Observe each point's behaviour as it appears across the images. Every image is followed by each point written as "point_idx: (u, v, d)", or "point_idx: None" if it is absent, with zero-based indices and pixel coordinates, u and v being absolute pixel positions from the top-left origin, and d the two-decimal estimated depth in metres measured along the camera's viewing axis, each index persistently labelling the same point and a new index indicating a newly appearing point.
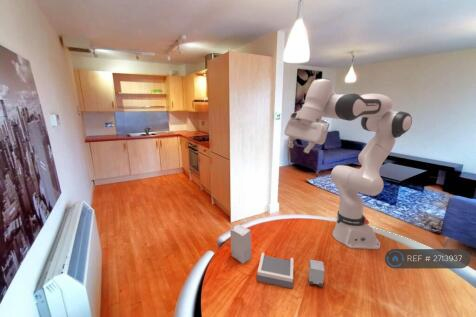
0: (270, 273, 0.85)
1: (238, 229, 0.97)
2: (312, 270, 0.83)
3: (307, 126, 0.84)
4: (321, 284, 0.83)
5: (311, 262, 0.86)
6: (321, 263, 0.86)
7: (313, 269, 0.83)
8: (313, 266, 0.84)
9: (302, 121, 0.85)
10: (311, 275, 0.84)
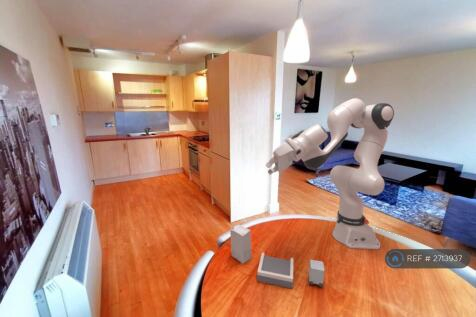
0: (270, 273, 0.85)
1: (238, 229, 0.97)
2: (312, 270, 0.83)
3: (288, 160, 0.92)
4: (321, 284, 0.83)
5: (311, 262, 0.86)
6: (321, 263, 0.86)
7: (313, 269, 0.83)
8: (313, 266, 0.84)
9: (293, 159, 0.90)
10: (311, 275, 0.84)
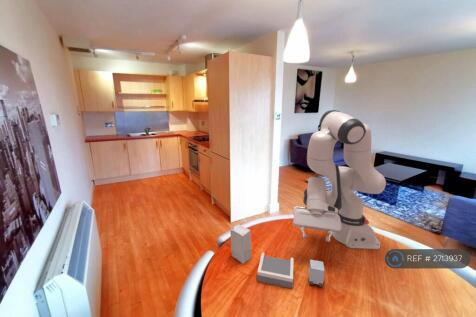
0: (270, 273, 0.85)
1: (238, 229, 0.97)
2: (312, 270, 0.83)
3: None
4: (321, 284, 0.83)
5: (311, 262, 0.86)
6: (321, 263, 0.86)
7: (313, 269, 0.83)
8: (313, 266, 0.84)
9: None
10: (311, 275, 0.84)
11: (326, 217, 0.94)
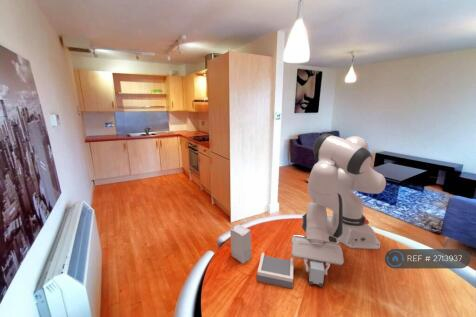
0: (270, 273, 0.85)
1: (238, 229, 0.97)
2: (312, 270, 0.83)
3: None
4: (321, 284, 0.83)
5: (311, 262, 0.86)
6: (321, 263, 0.86)
7: (313, 269, 0.83)
8: (313, 266, 0.84)
9: None
10: (311, 275, 0.84)
11: (327, 248, 0.88)
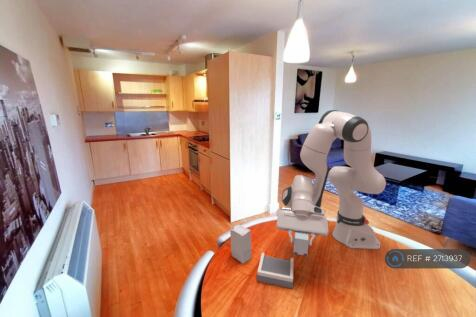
0: (270, 273, 0.85)
1: (238, 229, 0.97)
2: (296, 240, 0.81)
3: None
4: (305, 254, 0.81)
5: (296, 233, 0.84)
6: (306, 234, 0.84)
7: (297, 239, 0.81)
8: (297, 236, 0.82)
9: None
10: (295, 245, 0.82)
11: (312, 219, 0.86)
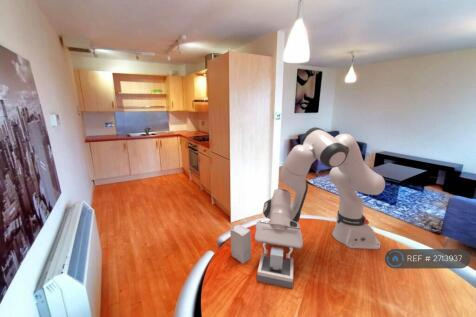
0: (270, 273, 0.85)
1: (238, 229, 0.97)
2: (271, 256, 0.86)
3: None
4: (280, 270, 0.87)
5: (272, 249, 0.89)
6: (281, 250, 0.89)
7: (272, 255, 0.86)
8: (273, 252, 0.87)
9: None
10: (271, 261, 0.87)
11: (288, 232, 0.90)
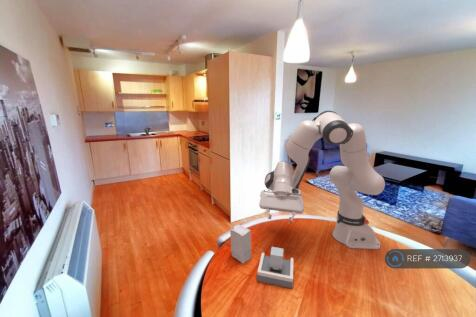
0: (270, 273, 0.85)
1: (238, 229, 0.97)
2: (271, 256, 0.86)
3: None
4: (280, 270, 0.87)
5: (272, 249, 0.89)
6: (281, 250, 0.89)
7: (272, 255, 0.86)
8: (273, 252, 0.87)
9: None
10: (271, 261, 0.87)
11: (290, 199, 0.98)
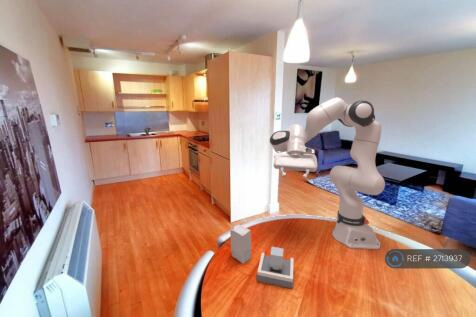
0: (270, 273, 0.85)
1: (238, 229, 0.97)
2: (271, 256, 0.86)
3: None
4: (280, 270, 0.87)
5: (272, 249, 0.89)
6: (281, 250, 0.89)
7: (272, 255, 0.86)
8: (273, 252, 0.87)
9: None
10: (271, 261, 0.87)
11: (304, 158, 1.01)
